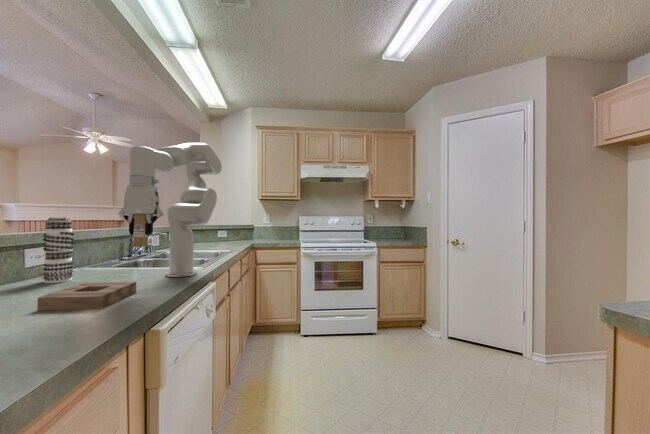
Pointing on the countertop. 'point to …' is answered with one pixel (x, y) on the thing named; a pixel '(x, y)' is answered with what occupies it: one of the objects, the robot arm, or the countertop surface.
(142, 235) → the sprinkles bottle
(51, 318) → the countertop surface
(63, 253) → the decorative candle
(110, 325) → the countertop surface
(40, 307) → the walnut hole board
